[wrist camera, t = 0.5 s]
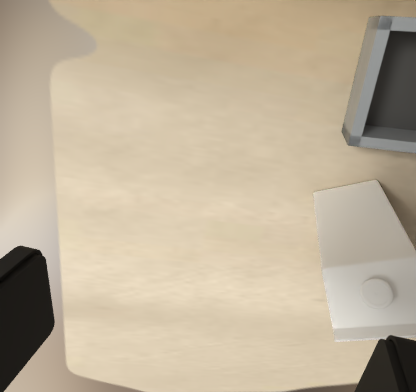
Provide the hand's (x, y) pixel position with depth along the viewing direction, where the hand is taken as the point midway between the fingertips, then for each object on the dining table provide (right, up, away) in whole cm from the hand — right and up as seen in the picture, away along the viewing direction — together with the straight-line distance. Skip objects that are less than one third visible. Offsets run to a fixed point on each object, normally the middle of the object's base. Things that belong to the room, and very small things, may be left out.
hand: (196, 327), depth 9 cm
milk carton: (+17, +2, +32) cm, 36 cm away
